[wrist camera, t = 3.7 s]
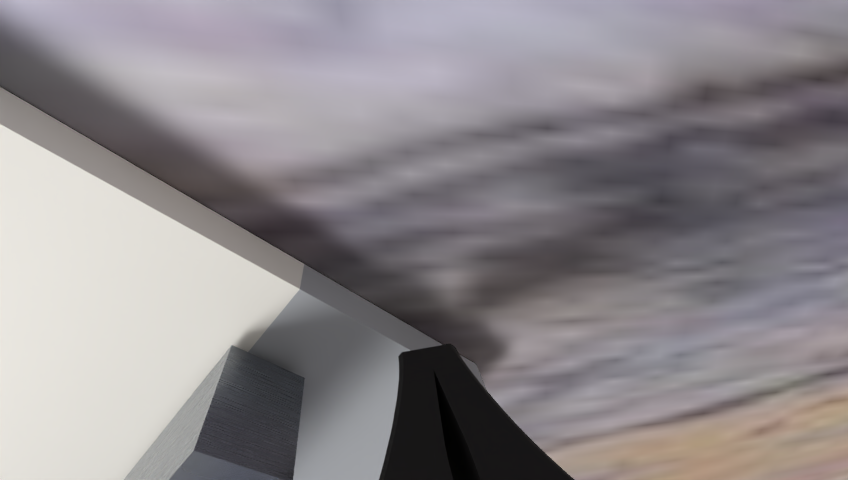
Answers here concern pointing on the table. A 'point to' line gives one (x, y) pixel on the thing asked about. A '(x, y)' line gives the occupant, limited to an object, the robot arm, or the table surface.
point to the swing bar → (231, 426)
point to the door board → (162, 317)
